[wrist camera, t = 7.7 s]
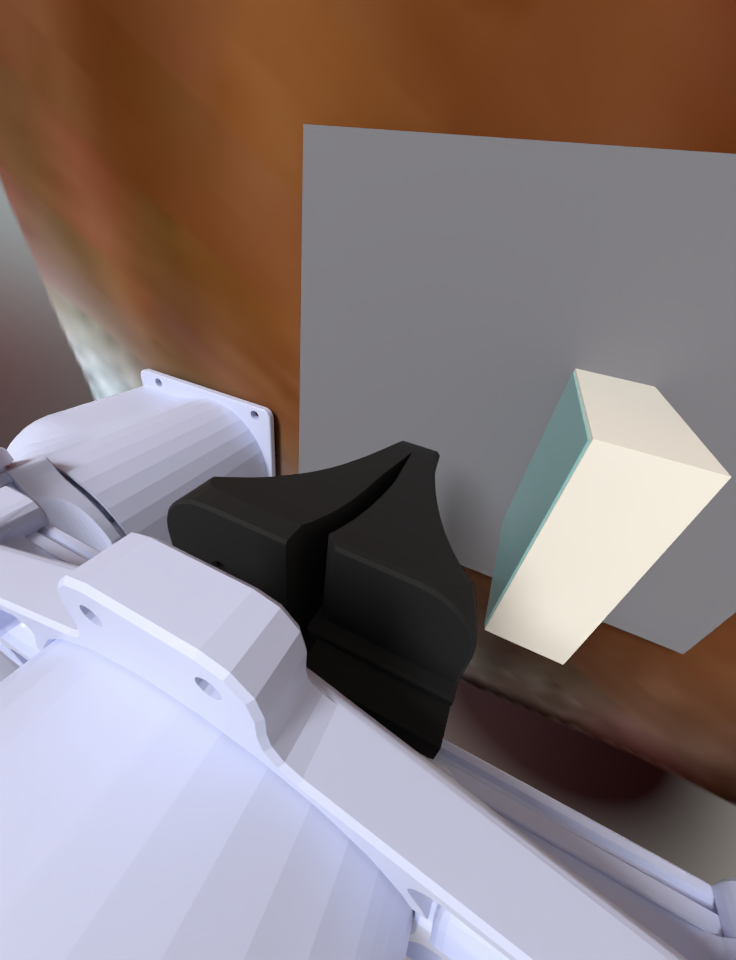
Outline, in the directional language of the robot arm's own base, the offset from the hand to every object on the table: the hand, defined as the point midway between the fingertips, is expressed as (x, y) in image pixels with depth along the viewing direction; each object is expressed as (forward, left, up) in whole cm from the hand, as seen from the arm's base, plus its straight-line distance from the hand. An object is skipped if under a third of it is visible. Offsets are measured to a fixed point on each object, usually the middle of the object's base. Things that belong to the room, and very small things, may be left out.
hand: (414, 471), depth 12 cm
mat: (+3, +1, -5) cm, 6 cm away
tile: (+5, 0, -4) cm, 6 cm away
